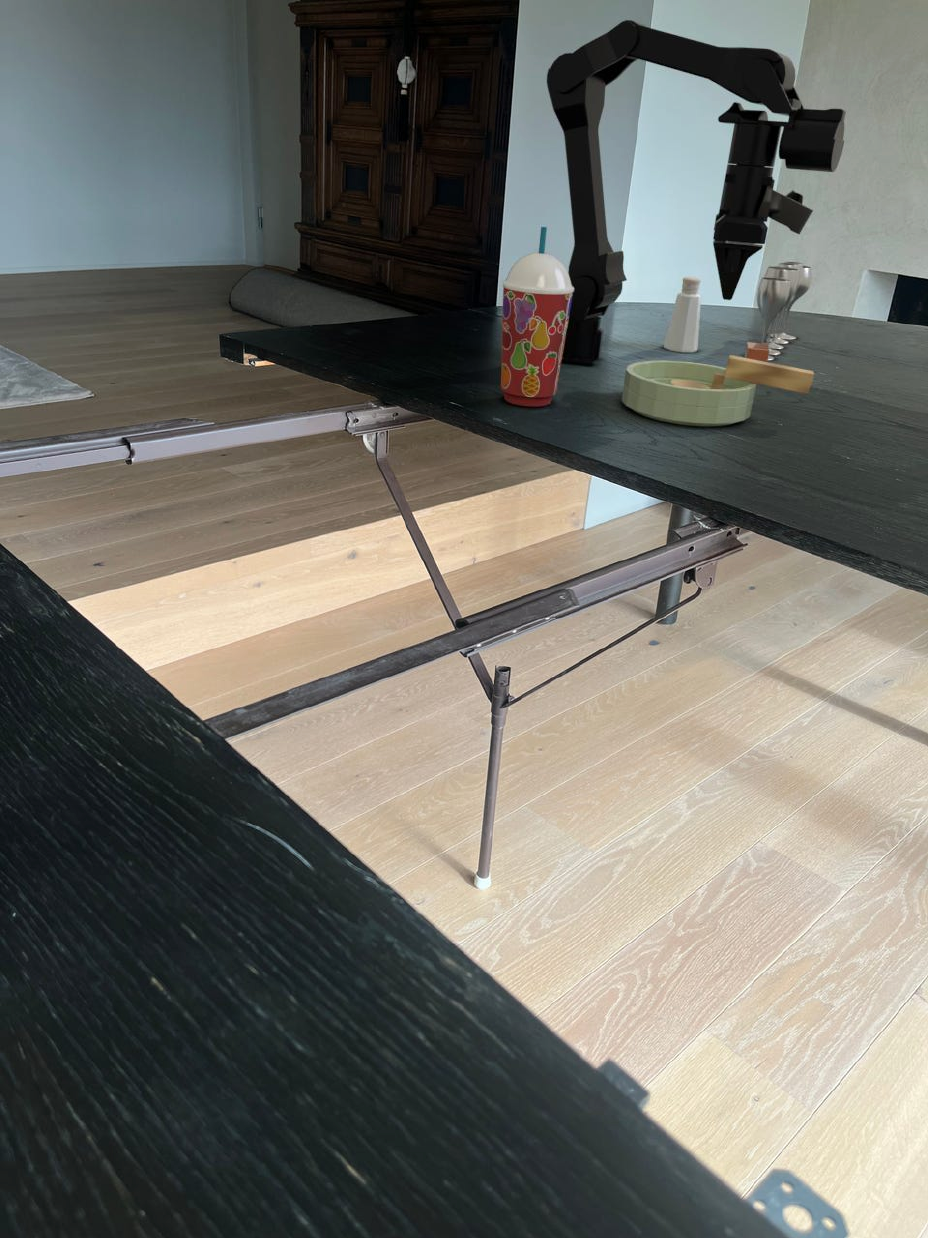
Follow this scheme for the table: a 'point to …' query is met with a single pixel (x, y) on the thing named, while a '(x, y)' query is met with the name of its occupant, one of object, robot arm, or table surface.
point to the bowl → (686, 394)
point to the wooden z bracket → (758, 375)
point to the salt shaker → (685, 318)
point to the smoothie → (534, 327)
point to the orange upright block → (757, 351)
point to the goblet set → (781, 299)
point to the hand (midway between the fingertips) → (726, 294)
